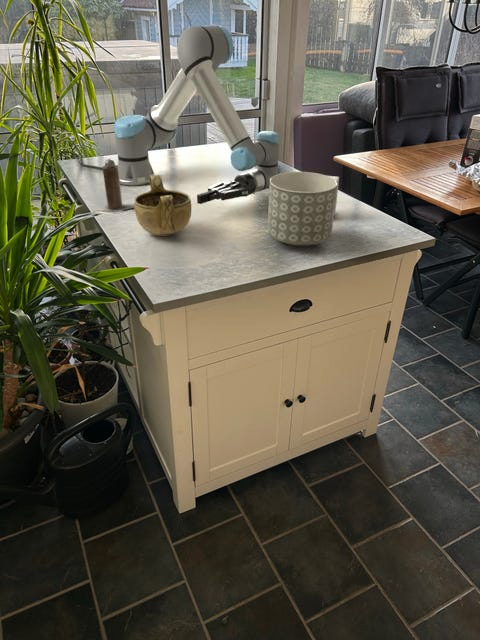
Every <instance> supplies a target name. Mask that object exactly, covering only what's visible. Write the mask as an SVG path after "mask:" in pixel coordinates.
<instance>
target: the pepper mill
mask: <svg viewBox="0 0 480 640" xmlns="http://www.w3.org/2000/svg"><path fill="white" fill-rule="evenodd" d="M101 167H102V168H103V170H102V175H103V183H104V189H105V197H106V204H107V208H108V210H110V211H111V210H112V211H117V210H121V209H123V207H124V206H123V198H122V191H121V190H122V188H121V184H120V180H119V172H118V164H116V163H115V161H114V160H113V159H111V158H108V159H106V160H105V162H104V165H103V166H101Z"/></svg>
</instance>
